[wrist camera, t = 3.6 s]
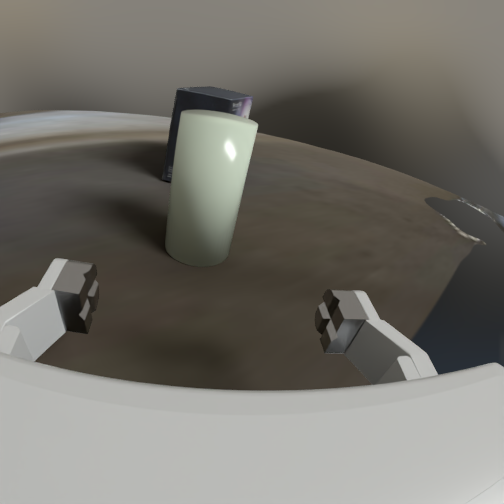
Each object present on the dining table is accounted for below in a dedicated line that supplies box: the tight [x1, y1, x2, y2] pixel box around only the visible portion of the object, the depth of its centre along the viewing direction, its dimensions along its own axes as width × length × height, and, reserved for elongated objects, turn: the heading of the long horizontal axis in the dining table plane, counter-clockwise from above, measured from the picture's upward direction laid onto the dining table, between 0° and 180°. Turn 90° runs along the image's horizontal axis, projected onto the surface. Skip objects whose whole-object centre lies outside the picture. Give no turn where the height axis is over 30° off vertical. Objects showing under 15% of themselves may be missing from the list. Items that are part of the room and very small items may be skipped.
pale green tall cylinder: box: [165, 110, 258, 267], centre depth 21 cm, size 5×5×10 cm
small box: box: [162, 87, 253, 182], centre depth 34 cm, size 11×6×10 cm, turn 168°
